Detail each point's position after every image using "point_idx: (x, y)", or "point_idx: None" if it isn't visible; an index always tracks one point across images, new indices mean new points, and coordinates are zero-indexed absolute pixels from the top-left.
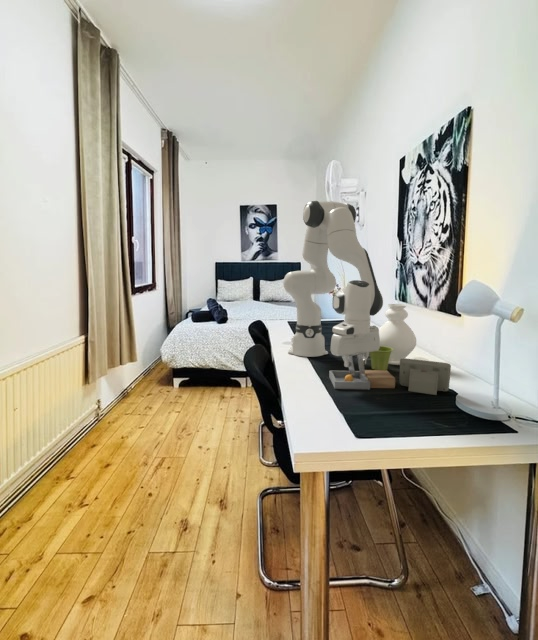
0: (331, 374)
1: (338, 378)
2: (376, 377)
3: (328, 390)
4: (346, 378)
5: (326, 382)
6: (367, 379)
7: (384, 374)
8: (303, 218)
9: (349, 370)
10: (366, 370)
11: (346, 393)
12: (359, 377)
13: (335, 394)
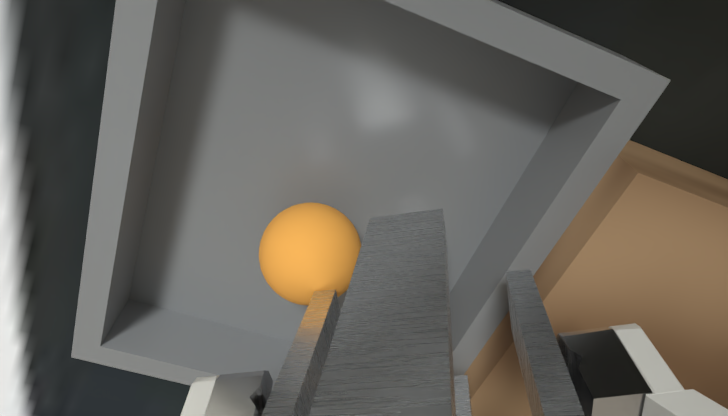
0: (105, 108)
1: (273, 34)
2: None
3: (36, 316)
4: (264, 276)
5: (69, 103)
6: (458, 375)
7: (704, 388)
8: None
9: (299, 333)
10: (664, 212)
11: (176, 397)
12: (578, 82)
13: (77, 394)
